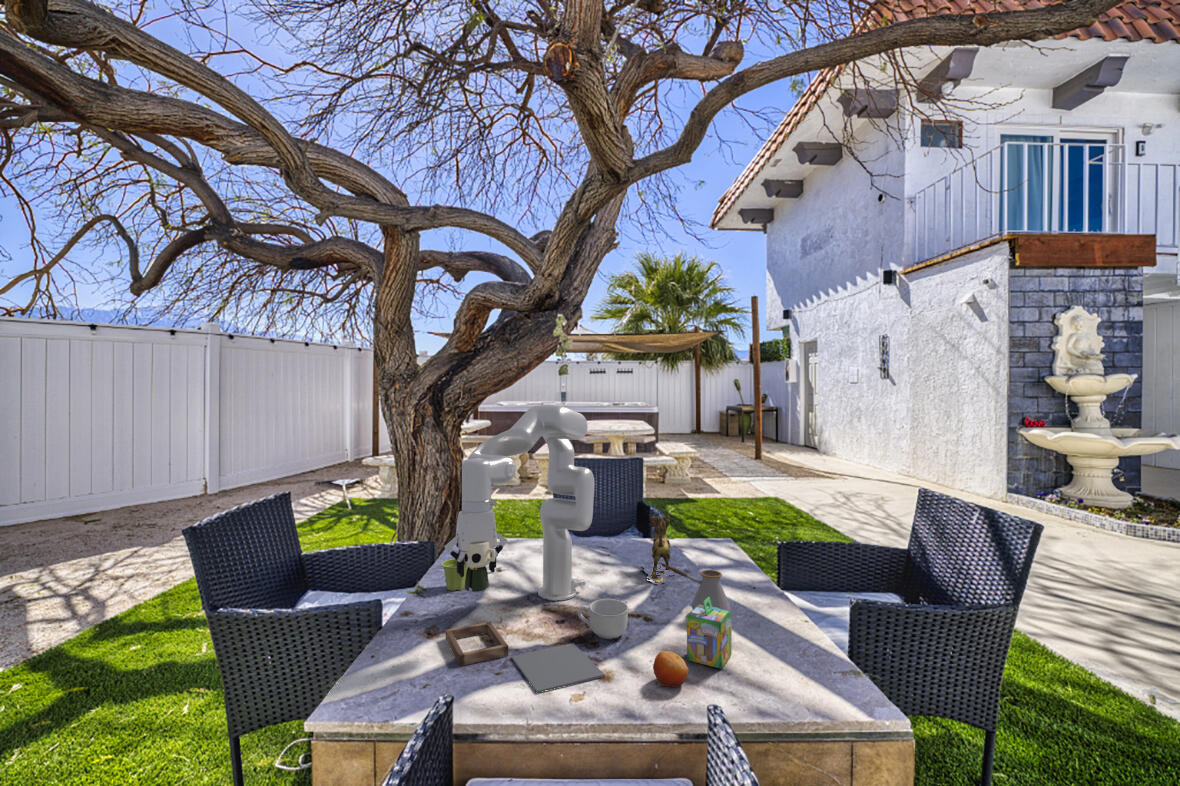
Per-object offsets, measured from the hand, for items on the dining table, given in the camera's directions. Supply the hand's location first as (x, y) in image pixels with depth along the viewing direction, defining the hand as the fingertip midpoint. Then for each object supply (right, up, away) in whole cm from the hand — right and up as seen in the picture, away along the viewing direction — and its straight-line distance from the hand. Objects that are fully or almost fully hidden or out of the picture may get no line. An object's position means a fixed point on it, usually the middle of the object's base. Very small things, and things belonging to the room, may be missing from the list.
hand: (476, 572), depth 147 cm
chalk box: (+60, -20, -5) cm, 64 cm away
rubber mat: (+22, -20, -11) cm, 31 cm away
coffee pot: (+61, -20, +22) cm, 68 cm away
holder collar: (0, -19, 0) cm, 19 cm away
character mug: (0, -5, 0) cm, 5 cm away
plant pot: (-16, -19, +43) cm, 50 cm away
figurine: (+55, -20, +60) cm, 83 cm away
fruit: (+48, -20, -17) cm, 55 cm away
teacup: (+33, -20, +9) cm, 40 cm away
